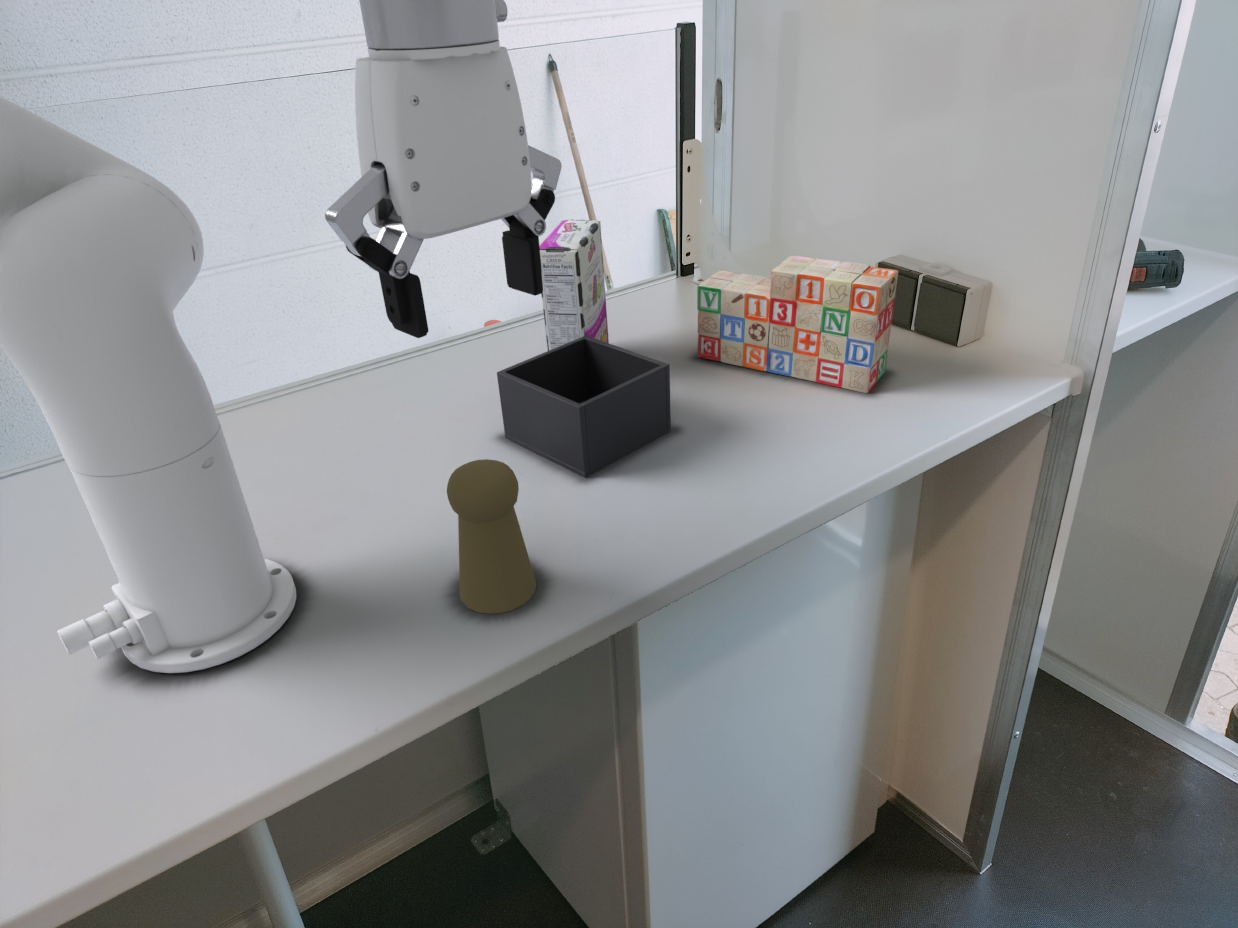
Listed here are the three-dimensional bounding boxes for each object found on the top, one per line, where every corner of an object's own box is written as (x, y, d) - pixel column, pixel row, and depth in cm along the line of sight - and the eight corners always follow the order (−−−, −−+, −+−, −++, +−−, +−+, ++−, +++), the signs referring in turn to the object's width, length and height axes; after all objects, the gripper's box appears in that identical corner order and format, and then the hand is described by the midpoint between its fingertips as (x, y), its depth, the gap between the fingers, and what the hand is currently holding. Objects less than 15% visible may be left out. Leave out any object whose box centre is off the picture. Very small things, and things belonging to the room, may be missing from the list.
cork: (552, 585, 67) (538, 465, 62) (493, 624, 63) (473, 501, 58) (502, 555, 71) (485, 440, 65) (444, 591, 67) (420, 472, 61)
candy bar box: (571, 348, 108) (561, 218, 100) (610, 350, 107) (602, 219, 99) (547, 386, 99) (534, 246, 90) (589, 388, 98) (579, 247, 89)
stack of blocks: (696, 358, 103) (695, 259, 97) (719, 340, 108) (720, 244, 102) (869, 394, 93) (881, 285, 87) (887, 372, 98) (900, 267, 91)
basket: (585, 478, 81) (579, 407, 77) (505, 438, 88) (496, 372, 85) (671, 430, 88) (669, 364, 84) (590, 397, 96) (585, 335, 92)
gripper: (506, 15, 56) (530, 268, 65) (258, 38, 46) (327, 336, 54) (585, 15, 52) (600, 287, 60) (329, 42, 41) (393, 366, 50)
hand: (470, 310), depth 57 cm, fingers open, 9 cm apart
